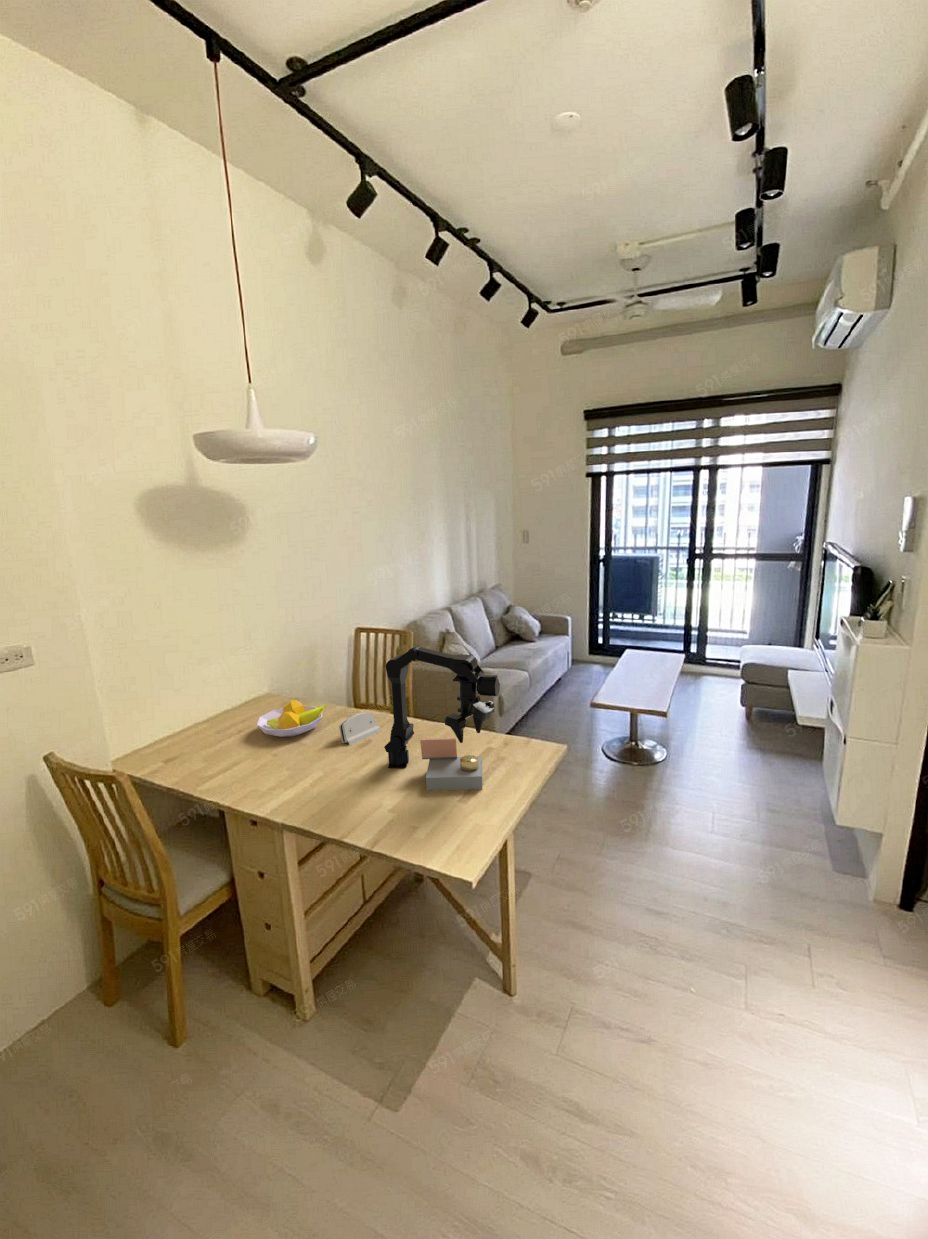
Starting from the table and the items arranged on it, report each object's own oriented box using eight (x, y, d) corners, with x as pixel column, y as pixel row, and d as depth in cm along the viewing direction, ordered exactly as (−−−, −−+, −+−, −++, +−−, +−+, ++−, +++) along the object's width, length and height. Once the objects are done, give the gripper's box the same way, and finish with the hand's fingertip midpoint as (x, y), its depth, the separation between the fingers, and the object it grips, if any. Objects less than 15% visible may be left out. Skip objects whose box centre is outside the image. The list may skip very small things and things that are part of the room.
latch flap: (422, 760, 189) (420, 740, 185) (422, 757, 190) (420, 738, 186) (457, 759, 189) (455, 739, 185) (457, 756, 190) (455, 737, 186)
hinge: (349, 745, 213) (341, 721, 214) (342, 746, 217) (335, 722, 217) (382, 731, 226) (374, 707, 226) (375, 732, 229) (368, 709, 229)
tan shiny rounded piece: (460, 784, 180) (459, 763, 179) (461, 775, 186) (460, 755, 184) (479, 783, 180) (478, 763, 178) (479, 774, 186) (478, 755, 184)
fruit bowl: (244, 739, 224) (240, 713, 222) (289, 714, 249) (286, 691, 246) (299, 748, 213) (296, 720, 211) (341, 721, 238) (338, 696, 235)
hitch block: (426, 790, 178) (425, 777, 177) (430, 769, 191) (429, 757, 190) (482, 789, 177) (481, 776, 176) (482, 768, 191) (481, 756, 190)
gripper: (469, 707, 170) (471, 754, 173) (504, 690, 184) (505, 733, 187) (442, 700, 177) (444, 745, 180) (478, 684, 191) (479, 726, 194)
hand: (469, 737), depth 185 cm, fingers open, 9 cm apart
